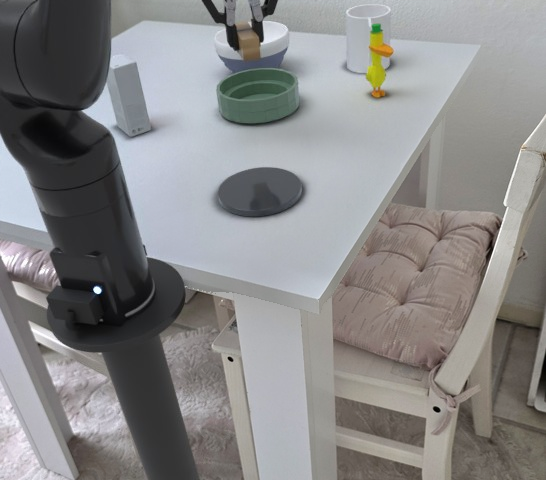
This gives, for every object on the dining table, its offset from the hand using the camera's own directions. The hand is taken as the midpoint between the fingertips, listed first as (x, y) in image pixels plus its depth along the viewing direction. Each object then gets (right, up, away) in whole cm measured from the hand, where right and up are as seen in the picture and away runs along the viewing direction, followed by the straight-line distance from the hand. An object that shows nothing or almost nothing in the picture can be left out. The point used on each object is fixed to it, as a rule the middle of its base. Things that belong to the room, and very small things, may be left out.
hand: (246, 46), depth 100 cm
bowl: (+1, +6, +30) cm, 31 cm away
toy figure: (+23, -2, +16) cm, 28 cm away
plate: (+2, -23, -6) cm, 24 cm away
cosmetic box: (-20, -9, +15) cm, 27 cm away
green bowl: (+2, -4, +17) cm, 18 cm away
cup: (+22, +6, +26) cm, 35 cm away
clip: (0, -1, 0) cm, 1 cm away
